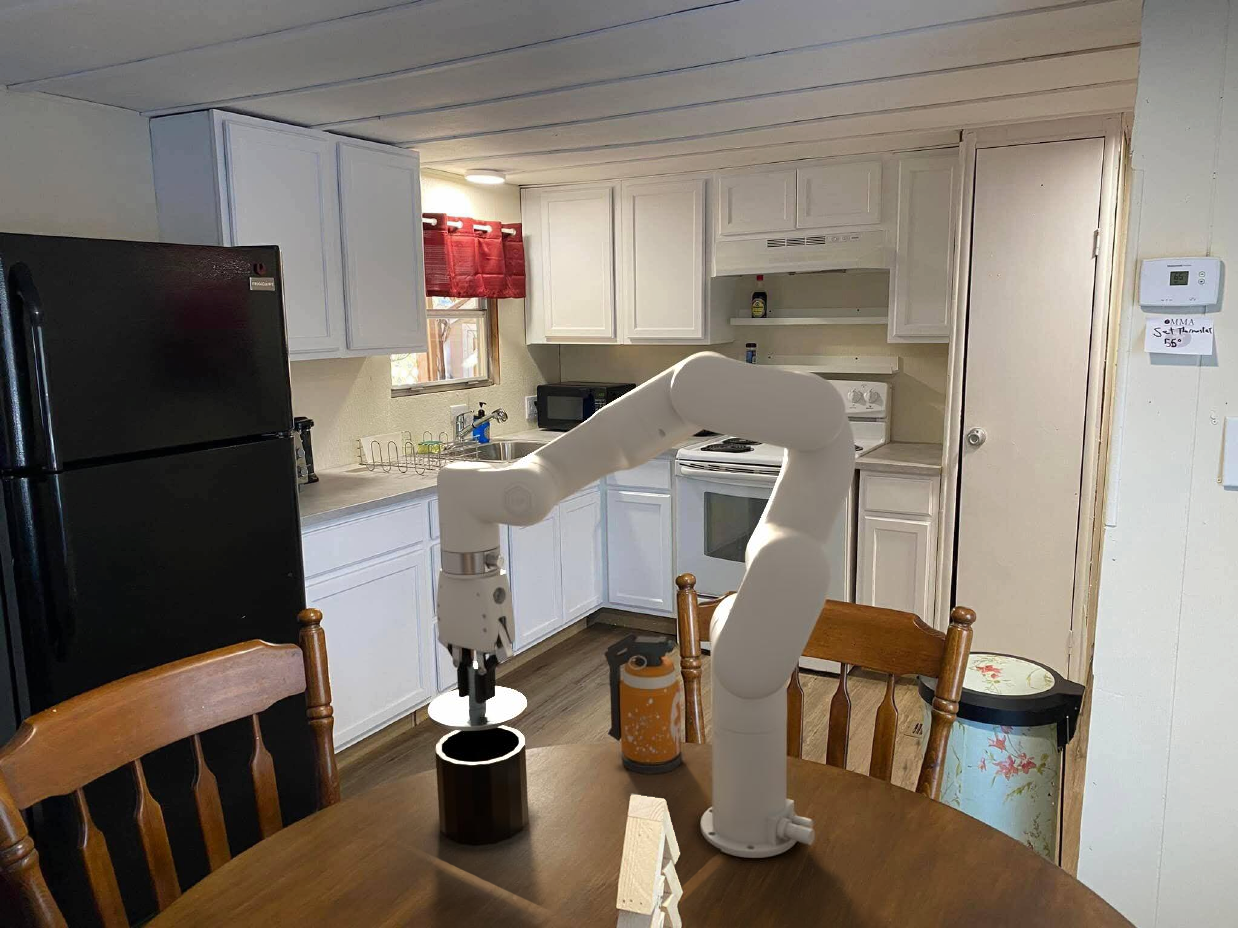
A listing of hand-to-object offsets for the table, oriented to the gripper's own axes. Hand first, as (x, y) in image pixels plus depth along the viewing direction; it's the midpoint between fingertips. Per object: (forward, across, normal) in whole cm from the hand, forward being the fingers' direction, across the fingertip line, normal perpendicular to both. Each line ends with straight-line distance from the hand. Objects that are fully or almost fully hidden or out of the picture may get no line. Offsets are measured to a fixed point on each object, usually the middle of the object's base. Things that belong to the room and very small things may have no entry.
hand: (477, 696), depth 119 cm
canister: (+18, -8, -26) cm, 33 cm away
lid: (+2, 0, 0) cm, 2 cm away
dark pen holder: (+18, 0, 0) cm, 18 cm away
